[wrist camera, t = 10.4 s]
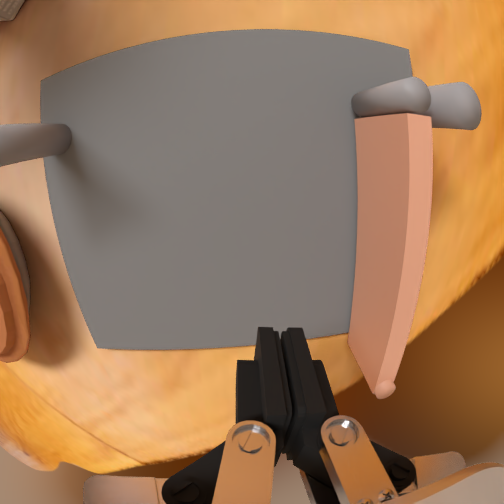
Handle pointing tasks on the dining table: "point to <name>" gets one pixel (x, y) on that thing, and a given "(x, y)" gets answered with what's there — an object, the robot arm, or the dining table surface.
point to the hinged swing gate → (213, 181)
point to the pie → (13, 296)
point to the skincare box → (9, 9)
